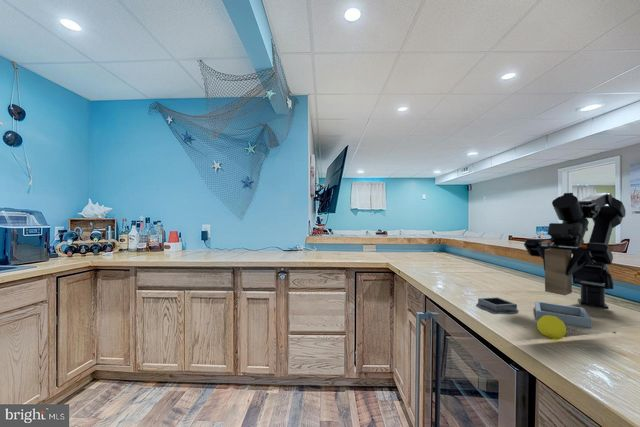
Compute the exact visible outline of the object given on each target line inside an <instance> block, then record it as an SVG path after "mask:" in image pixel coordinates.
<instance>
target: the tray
mask: <svg viewBox="0 0 640 427" xmlns="http://www.w3.org/2000/svg"><path fill="white" fill-rule="evenodd" d="M534 309H535V317H536V319H538V320H539V319H540V318H541V317H542V316H545V315H551V316H556V317H557V318H559V319H560V320H562V321H563V322H564V324H568V325H573V326H580V327H586V328H590V329H591V328H592V326H593V325H592V318H591V317H590V315H589V313H588V312H587V310H586V309H585V308H584V307H580V306H573V305H565V304H559V303H551V302H544V301H539V300H534Z"/></svg>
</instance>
